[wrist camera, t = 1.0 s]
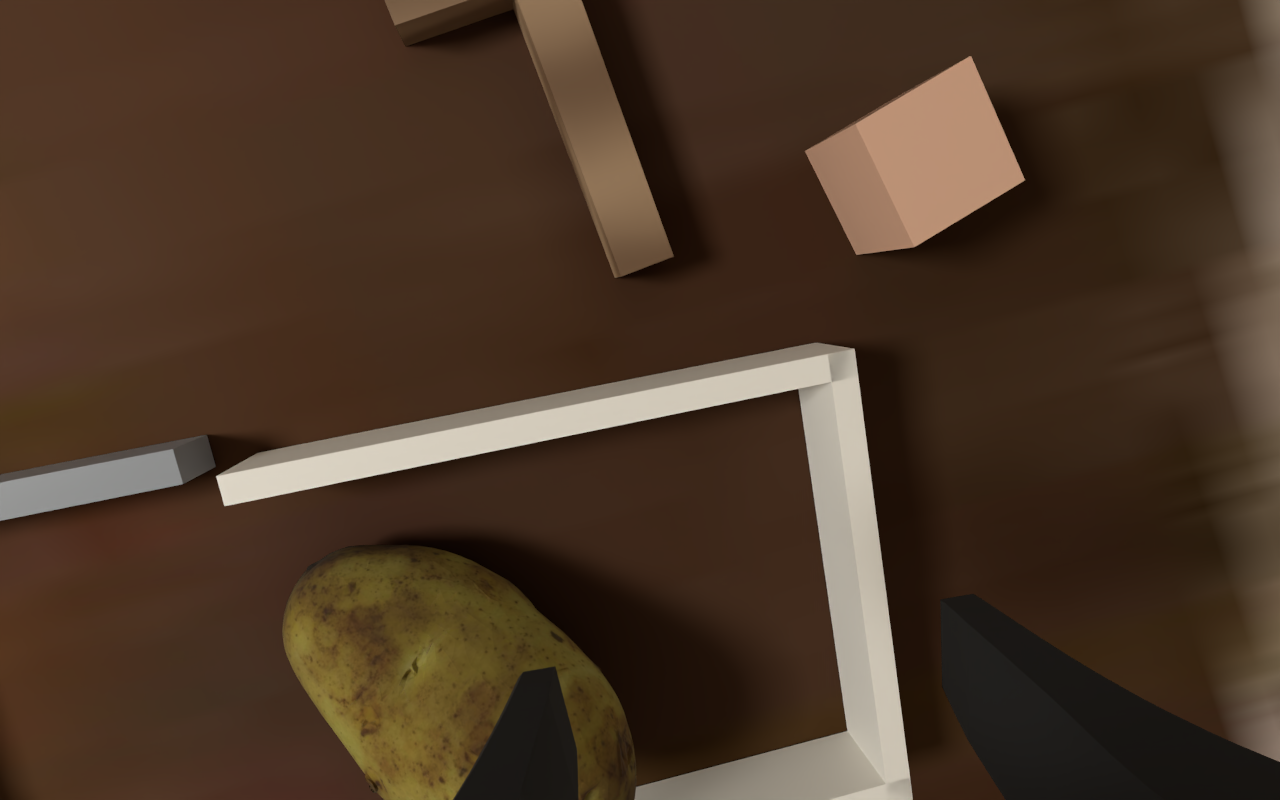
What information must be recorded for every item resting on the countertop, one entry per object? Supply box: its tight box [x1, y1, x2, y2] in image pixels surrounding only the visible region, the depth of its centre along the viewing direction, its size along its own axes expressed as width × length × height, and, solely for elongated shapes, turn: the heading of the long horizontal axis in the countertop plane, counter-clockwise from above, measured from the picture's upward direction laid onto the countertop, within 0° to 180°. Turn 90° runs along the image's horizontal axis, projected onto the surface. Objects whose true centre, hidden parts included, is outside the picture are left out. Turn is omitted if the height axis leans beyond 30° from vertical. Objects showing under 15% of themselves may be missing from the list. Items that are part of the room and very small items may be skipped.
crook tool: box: [385, 0, 674, 278], centre depth 25 cm, size 12×6×2 cm, turn 21°
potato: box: [282, 545, 636, 800], centre depth 25 cm, size 8×13×8 cm, turn 33°
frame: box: [0, 435, 216, 521], centre depth 26 cm, size 20×13×2 cm, turn 10°
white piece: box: [216, 343, 913, 800], centre depth 27 cm, size 18×22×4 cm
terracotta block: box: [805, 56, 1025, 255], centre depth 26 cm, size 4×4×4 cm
